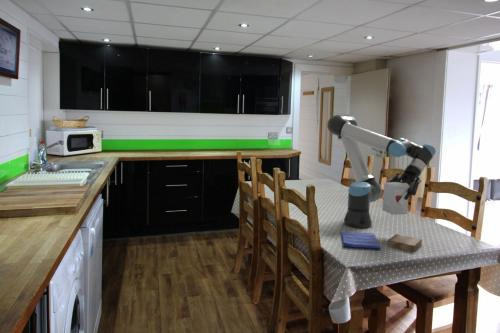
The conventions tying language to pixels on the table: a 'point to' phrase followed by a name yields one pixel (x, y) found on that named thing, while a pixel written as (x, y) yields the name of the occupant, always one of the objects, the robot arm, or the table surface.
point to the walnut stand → (405, 242)
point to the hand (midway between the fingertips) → (391, 201)
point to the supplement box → (394, 198)
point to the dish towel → (359, 240)
